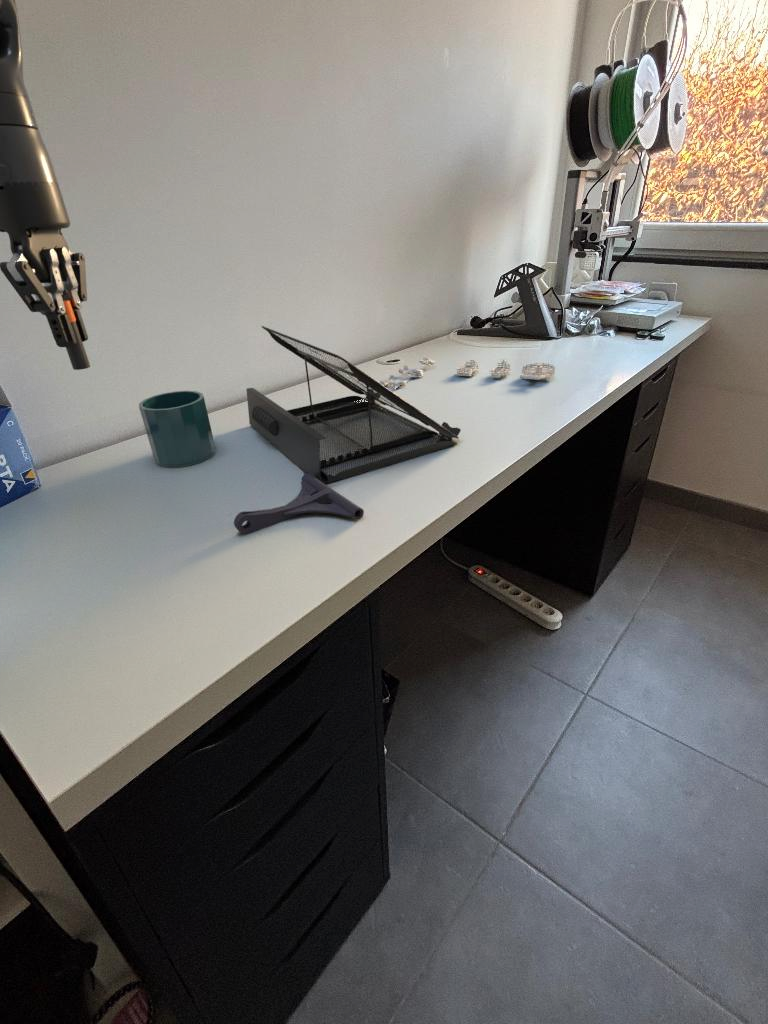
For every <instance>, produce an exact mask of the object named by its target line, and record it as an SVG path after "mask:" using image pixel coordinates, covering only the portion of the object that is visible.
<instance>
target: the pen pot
mask: <svg viewBox="0 0 768 1024" xmlns="http://www.w3.org/2000/svg"><path fill="white" fill-rule="evenodd" d="M138 408H139V413H140V415H141V419H142V422H143V426H144V429H145V433H146V436H147V439H148V442H149V446H150V449H151V453H152V456H153V459H154V462H155V463H156V465H158V466H160V467H163V468H172V469H173V468H175V469H176V468H185V467H190V466H194V465H197V464H200V463H203V462H205V461H207V460H209V459H211V458H212V457H213V456H214V455H215V454H216V452H217V449H216V448H217V447H216V443H215V439H214V435H213V430H212V426H211V422H210V418H209V413H208V409H207V404H206V400H205V396H204V394H203V393H202V392H200V391H197V390H176V391H170V392H169V391H168V392H164V393H163V392H162V393H160V394H159V393H158V394H155V395H152V396H149V397H147V398H144V399H142V401H141V402H139V403H138Z"/></svg>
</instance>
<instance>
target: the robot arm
mask: <svg viewBox="0 0 768 1024" xmlns="http://www.w3.org/2000/svg"><path fill="white" fill-rule="evenodd" d="M20 29H21V28H20V19H19V13H18V7H17V2H16V0H0V233H7V235H8V238H9V243H10V246H9V248H10V252H11V254H12V256H11V258H10V259H9V260H8V261H1V262H0V271H1V272H2V274H3V276H4V277H5V278H6V279H7V281H8V282H9V284H10V285H11V286H12V288H13V289H14V290H15V292H16V293H17V295H18V296H19V297H20V299H21V300H22V301H23V303H24V305H25V306H26V307H27V309H28V310H29V311H30V312H31V313H40V314H41V315H42V316H45V318H46V321H47V323H48V325H49V329H50V331H51V334H52V337H53V340H54V341H55V345H56V346H57V347H59V348H66V347H72V346H75V345H76V344H77V341H76V338H75V335H74V332H73V329H72V326H71V323H70V320H69V317H68V314H65V312H66V310H65V306H64V302H63V300H70V303H71V306H72V309H73V312H74V315H75V318H76V324H77V327H78V330H79V333H80V336H81V339H82V342H83V343H84V342H86V341H88V340H89V336H88V335H89V334H88V332H87V329H86V326H85V322H84V320H83V316H82V313H81V311H80V310H81V309H82V302H87V300H88V292H87V291H88V290H87V274H86V258H85V255H84V254H83V253H82V252H73V251H72V250H70V248H69V245H68V242H67V240H66V238H65V236H64V235H63V233H62V229H68V228H69V227H71V221H70V217H69V214H68V211H67V208H66V203H65V201H64V198H63V195H62V192H61V187H60V185H59V182H58V178H57V175H56V172H55V169H54V165H53V162H52V158H51V156H50V153H49V152H48V149H47V146H46V144H45V142H44V139H43V137H42V135H41V132H40V130H39V125H38V122H37V119H36V116H35V115H36V114H35V112H34V109H33V106H32V103H31V100H30V96H29V94H28V91H27V88H26V85H25V79H24V57H23V50H22V48H23V47H22V39H21V30H20ZM43 284H44V285H43ZM49 294H50V295H51V296H50V295H49ZM34 296H35V298H34Z"/></svg>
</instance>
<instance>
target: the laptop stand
mask: <svg viewBox="0 0 768 1024" xmlns="http://www.w3.org/2000/svg"><path fill="white" fill-rule="evenodd" d="M261 328H262V330H265V331H266V332H267V333H268V334H269V335H270V337H271V338H272V339H273V340H274V341H275V343H277V344H278V345H280V346H282V347H283V348H285V349H286V350H288V351H290V352H291V353H293V354H294V355H296V356H297V357H299V358H300V359H301V360H303V361H304V365H305V372H306V373H305V374H306V382H307V389H308V390H307V391H308V396H309V405H305V406H300V407H296V408H292V409H287V410H286V409H285V408H284V407H282V406H281V405H280V404H277V403H276V402H274V401H273V400H272V399H270V397H267V396H266V395H264V394H263V393H261V392H260V391H258V390H257V389H256V388H254V387H248V388H246V390H245V391H246V399H247V412H248V421H249V425H250V426H251V428H253V430H255V431H256V432H257V433H258V434H259V435H261V436H262V437H263V438H264V439H266V441H268V442H269V443H270V444H271V445H272V446H274V447H275V448H276V449H277V450H278V451H279V452H280V453H282V455H284V456H285V457H286V458H288V459H289V460H290V461H291V462H292V463H293V464H294V465H296V466H297V467H298V468H299V469H300V470H302V471H303V472H304V474H306V473H308V474H310V475H312V476H313V477H315V478H316V479H318V480H319V481H321V482H322V483H324V484H325V485H327V484H331V483H335V482H338V481H340V480H343V479H346V478H349V477H353V476H356V475H359V474H363V473H366V472H370V471H373V470H377V469H379V468H380V469H381V468H382V467H386V466H389V465H392V464H397V463H399V462H403V461H407V460H409V459H412V458H415V457H416V458H417V457H420V456H422V455H426V454H429V453H432V452H435V451H439V450H443V449H447V448H450V447H452V446H456V445H458V442H456V441H454V440H453V439H454V438H455V439H457V440H459V439H460V438H459V434H460V433H461V430H462V429H461V428H459V427H452V426H450V425H449V423H448V422H446V421H443V423H442V424H440V423H438V422H437V421H435V420H434V419H433V418H431V417H430V416H428V415H427V414H425V413H424V412H422V411H421V410H420V409H419V408H416V407H415V406H414V405H412V404H411V403H409V402H408V401H406V400H405V399H404V398H402V397H401V396H399V395H398V394H397V393H395V392H393V391H392V390H390V389H389V388H387V387H386V386H383V385H382V384H380V381H377V380H376V379H374V377H372V376H370V375H369V374H367V373H365V371H363V370H361V369H360V368H359V367H357V366H356V365H354V364H352V363H351V362H349V360H347V359H345V358H343V357H342V356H340V355H339V354H336V353H333V352H331V351H329V350H326V349H323V348H320V347H317V346H315V345H313V344H311V343H308V342H305V341H302V340H300V339H297V338H295V337H292V336H289V335H287V334H284V333H282V332H279V331H277V330H274V329H271V328H269V327H266V326H264V325H261ZM321 357H322V358H321ZM308 364H309V365H311V366H313V367H314V368H316V369H317V370H319V371H321V372H322V373H324V374H325V375H327V376H328V377H330V378H331V379H333V380H334V381H336V382H337V383H339V384H341V385H343V386H344V387H345V388H347V389H349V390H350V391H351V392H353V393H355V394H357V395H349V396H343V397H340V398H336V399H330V400H327V401H323V402H318V403H313V402H312V393H311V386H310V377H309V370H308ZM338 364H339V365H338ZM360 395H364V396H365V397H362V396H360ZM361 399H362V400H363V399H364V402H362V400H361ZM357 400H358V401H357ZM359 400H361V402H360V401H359ZM365 400H366V401H368V402H365ZM354 401H355V403H357V402H358V403H357V404H354V403H349V402H354ZM356 401H357V402H356ZM376 401H377V402H379V403H380V404H379V403H377V402H376ZM359 402H360V403H359ZM345 403H346V404H345ZM341 404H342V405H341ZM349 404H350V405H349ZM337 405H338V406H337ZM382 405H383V406H382ZM332 406H333V407H332ZM385 406H387V407H390V408H391V409H394V410H396V411H398V412H401V413H403V414H405V415H407V416H408V417H411V418H413V419H415V420H417V421H419V422H421V423H422V424H423V425H422V424H420V423H418V422H416V421H413V420H411V419H409V418H407V417H405V416H403V415H401V414H398V413H397V412H395V411H393V410H390V409H388V408H387V407H385ZM328 407H330V408H328ZM379 407H380V408H379ZM324 408H326V409H324ZM381 408H382V409H381ZM321 409H322V410H321ZM385 410H386V411H385ZM337 418H338V419H337ZM328 419H330V421H329V420H328ZM342 424H343V425H342ZM424 425H425V426H427V427H430V428H432V429H433V430H432V429H430V428H427V427H425V426H424ZM346 426H347V427H346ZM337 434H338V435H337ZM337 440H338V441H337ZM343 442H344V443H343ZM328 456H329V457H328ZM355 459H357V460H355ZM351 461H353V462H351ZM361 461H363V463H360V462H361ZM357 463H358V464H357ZM325 467H326V468H325Z"/></svg>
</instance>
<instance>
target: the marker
mask: <svg viewBox="0 0 768 1024" xmlns="http://www.w3.org/2000/svg"><path fill="white" fill-rule="evenodd" d="M63 302H64V306H65V310H66V312H65V314H68V317H69V320H70V323H71V326H72V329H73V332H74V335H75V338H76V341H77V344H76V345H75V346H72V347H65V350H66V352H67V355H68V358H69V361H70V364H71V367H72V369H73V370H75V371H80V370H86V369H89V368H90V367H91V364H90V361H89V358H88V355H87V351H86V349H85V345H84V342H82V339H81V336H80V333H79V330H78V327H77V324H76V318H75V315H74V312H73V309H72V306H71V303H70V300H63Z"/></svg>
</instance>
